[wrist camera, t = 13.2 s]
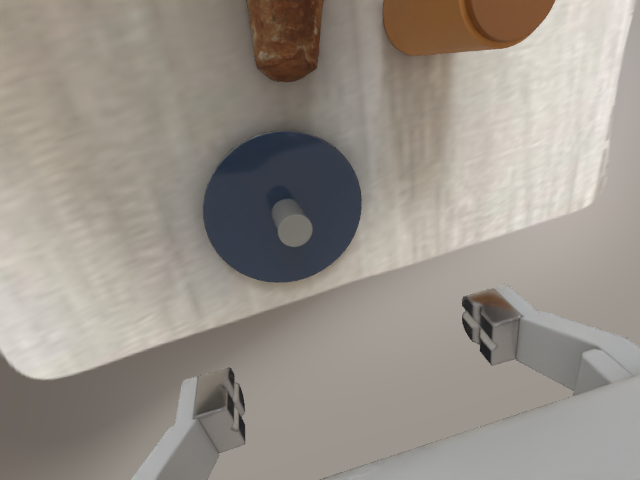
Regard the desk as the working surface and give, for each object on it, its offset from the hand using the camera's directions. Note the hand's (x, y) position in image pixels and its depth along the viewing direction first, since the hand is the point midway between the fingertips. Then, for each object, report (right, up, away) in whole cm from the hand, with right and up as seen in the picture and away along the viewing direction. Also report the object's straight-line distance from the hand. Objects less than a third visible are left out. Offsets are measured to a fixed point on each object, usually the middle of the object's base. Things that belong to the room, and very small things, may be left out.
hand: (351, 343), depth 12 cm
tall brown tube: (+6, +20, +13) cm, 24 cm away
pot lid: (-4, +6, +16) cm, 18 cm away
